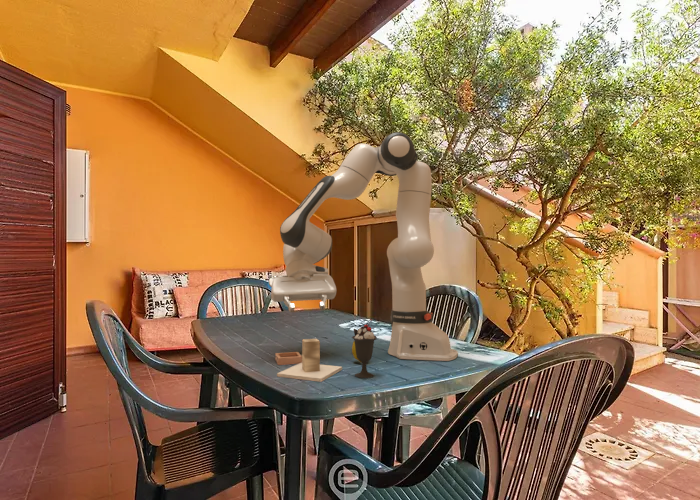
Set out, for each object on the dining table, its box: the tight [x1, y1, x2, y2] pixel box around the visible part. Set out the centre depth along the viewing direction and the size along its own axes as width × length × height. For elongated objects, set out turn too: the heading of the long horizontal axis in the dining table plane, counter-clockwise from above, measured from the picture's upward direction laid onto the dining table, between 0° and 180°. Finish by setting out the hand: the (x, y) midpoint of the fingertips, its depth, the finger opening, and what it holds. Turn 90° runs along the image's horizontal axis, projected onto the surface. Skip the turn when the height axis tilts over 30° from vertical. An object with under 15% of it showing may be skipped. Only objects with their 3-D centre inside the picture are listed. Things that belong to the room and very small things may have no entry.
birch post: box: [301, 338, 321, 372], centre depth 112 cm, size 4×4×8 cm
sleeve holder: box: [274, 351, 302, 366], centre depth 125 cm, size 7×7×2 cm
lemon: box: [351, 341, 362, 364], centre depth 124 cm, size 6×6×8 cm
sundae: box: [351, 318, 378, 379], centre depth 109 cm, size 7×7×15 cm
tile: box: [276, 363, 343, 383], centre depth 112 cm, size 13×13×1 cm
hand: (307, 309), depth 124 cm, fingers open, 8 cm apart
